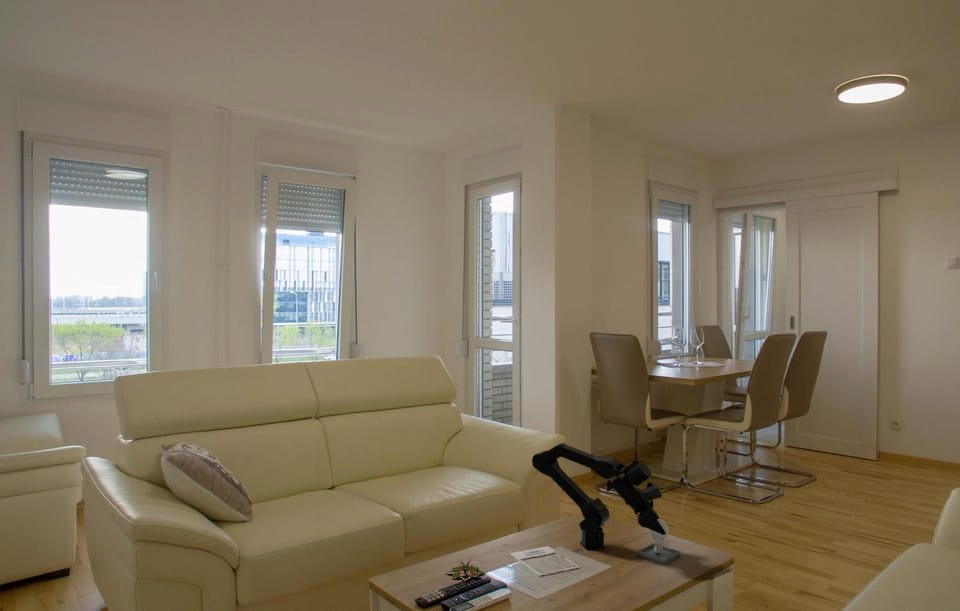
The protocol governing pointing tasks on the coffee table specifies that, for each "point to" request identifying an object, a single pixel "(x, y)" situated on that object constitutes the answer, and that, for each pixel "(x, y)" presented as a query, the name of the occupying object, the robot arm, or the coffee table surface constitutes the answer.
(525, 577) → the coffee table surface
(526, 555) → the photo frame
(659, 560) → the dish
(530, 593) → the coffee table surface
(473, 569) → the flower arrangement
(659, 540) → the lightbulb
